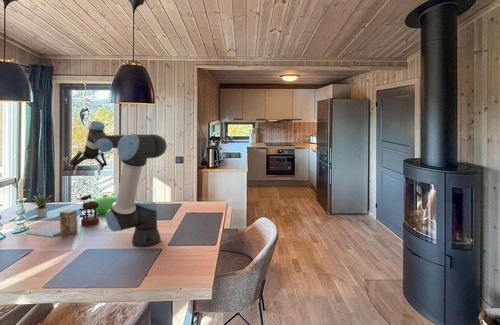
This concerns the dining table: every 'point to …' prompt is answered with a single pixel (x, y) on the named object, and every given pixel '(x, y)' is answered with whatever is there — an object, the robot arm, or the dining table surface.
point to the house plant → (41, 206)
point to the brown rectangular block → (68, 222)
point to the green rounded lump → (104, 202)
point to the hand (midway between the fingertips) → (86, 173)
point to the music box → (92, 219)
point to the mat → (47, 231)
